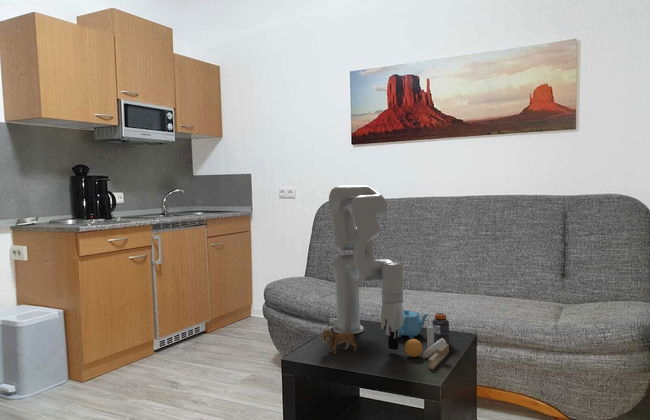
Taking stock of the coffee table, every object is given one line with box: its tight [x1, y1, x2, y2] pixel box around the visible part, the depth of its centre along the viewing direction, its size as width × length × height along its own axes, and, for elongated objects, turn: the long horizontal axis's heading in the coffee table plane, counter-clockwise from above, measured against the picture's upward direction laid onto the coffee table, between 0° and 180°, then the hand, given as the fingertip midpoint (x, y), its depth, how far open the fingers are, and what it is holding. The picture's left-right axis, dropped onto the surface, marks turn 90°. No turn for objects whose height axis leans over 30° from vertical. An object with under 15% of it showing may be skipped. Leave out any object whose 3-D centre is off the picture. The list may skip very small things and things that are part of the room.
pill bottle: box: [432, 312, 450, 345], centre depth 177 cm, size 6×6×11 cm
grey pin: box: [426, 325, 434, 349], centre depth 169 cm, size 2×2×8 cm
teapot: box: [398, 309, 430, 339], centre depth 188 cm, size 18×14×10 cm
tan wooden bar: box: [427, 343, 450, 370], centre depth 160 cm, size 2×18×3 cm, turn 149°
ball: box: [404, 338, 423, 358], centre depth 164 cm, size 6×6×6 cm
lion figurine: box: [321, 328, 359, 355], centre depth 171 cm, size 15×5×9 cm, turn 118°
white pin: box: [422, 338, 446, 359], centre depth 161 cm, size 2×2×8 cm
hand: (393, 348), depth 168 cm, fingers closed
